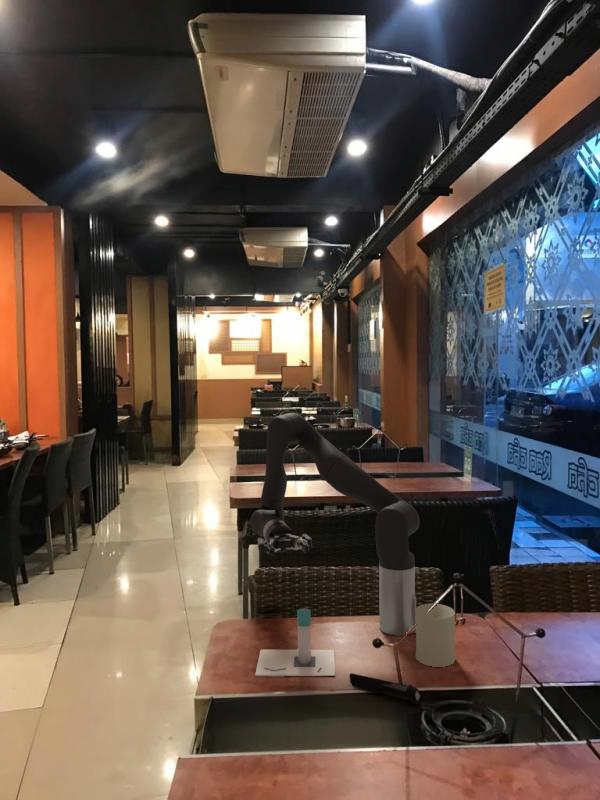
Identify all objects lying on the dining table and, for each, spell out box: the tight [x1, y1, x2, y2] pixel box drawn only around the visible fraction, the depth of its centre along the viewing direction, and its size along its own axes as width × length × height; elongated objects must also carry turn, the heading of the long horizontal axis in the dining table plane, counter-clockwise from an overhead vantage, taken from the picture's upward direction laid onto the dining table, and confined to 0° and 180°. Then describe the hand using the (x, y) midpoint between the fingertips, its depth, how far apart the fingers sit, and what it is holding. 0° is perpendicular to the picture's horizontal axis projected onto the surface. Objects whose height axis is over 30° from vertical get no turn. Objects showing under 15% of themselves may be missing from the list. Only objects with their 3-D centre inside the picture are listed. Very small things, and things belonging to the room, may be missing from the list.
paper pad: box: [254, 649, 336, 677], centre depth 142 cm, size 18×12×1 cm, turn 88°
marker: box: [296, 607, 312, 664], centre depth 141 cm, size 3×3×12 cm
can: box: [414, 603, 456, 668], centre depth 143 cm, size 9×9×12 cm
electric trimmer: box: [349, 673, 422, 705], centre depth 129 cm, size 4×16×3 cm, turn 63°
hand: (290, 550), depth 156 cm, fingers open, 8 cm apart
